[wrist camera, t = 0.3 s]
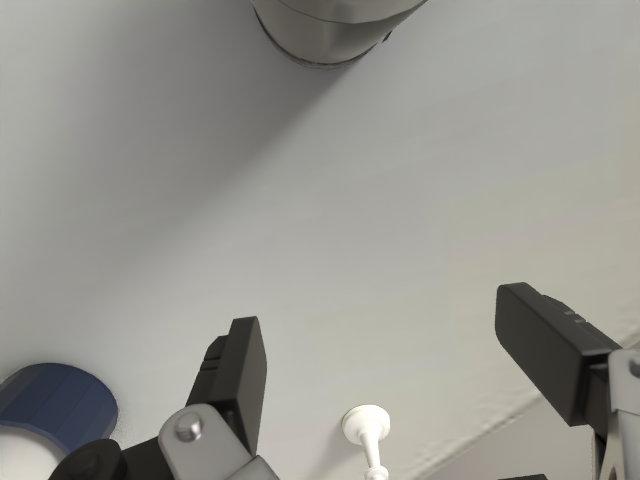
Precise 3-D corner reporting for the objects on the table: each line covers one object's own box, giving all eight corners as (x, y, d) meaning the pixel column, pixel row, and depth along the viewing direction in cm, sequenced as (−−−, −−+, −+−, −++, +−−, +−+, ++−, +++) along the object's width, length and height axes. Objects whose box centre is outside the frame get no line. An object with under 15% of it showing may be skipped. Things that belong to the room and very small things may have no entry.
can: (98, 435, 35) (4, 589, 24) (29, 432, 35) (-101, 588, 24) (91, 384, 33) (-16, 527, 22) (17, 380, 33) (-132, 525, 21)
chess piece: (390, 437, 38) (419, 546, 28) (344, 442, 38) (358, 554, 28) (388, 401, 36) (418, 505, 27) (339, 407, 36) (353, 514, 27)
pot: (-17, 371, 32) (-88, 429, 26) (96, 356, 32) (51, 411, 26) (29, 452, 36) (-23, 519, 30) (131, 439, 36) (99, 504, 30)
